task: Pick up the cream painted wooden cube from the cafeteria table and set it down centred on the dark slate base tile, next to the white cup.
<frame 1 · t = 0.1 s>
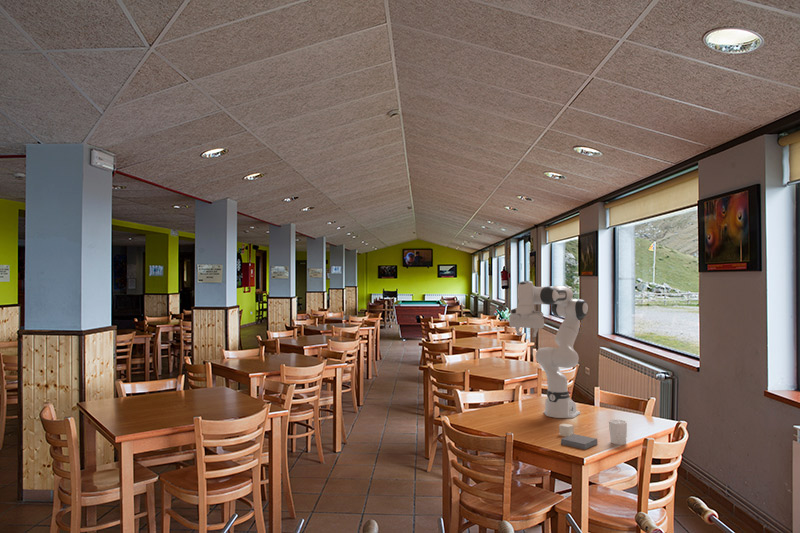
hand: (526, 336, 280), 48 cm above the table, fingers open, 8 cm apart
cube: (566, 435, 258), on the table
base: (579, 444, 242), on the table
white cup: (618, 443, 244), on the table
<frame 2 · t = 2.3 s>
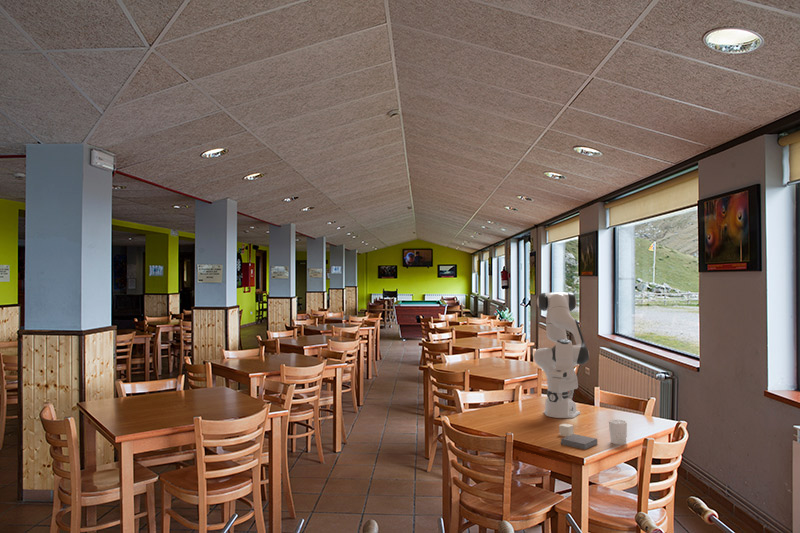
hand: (565, 399, 259), 18 cm above the table, fingers open, 8 cm apart
nothing on the table moved.
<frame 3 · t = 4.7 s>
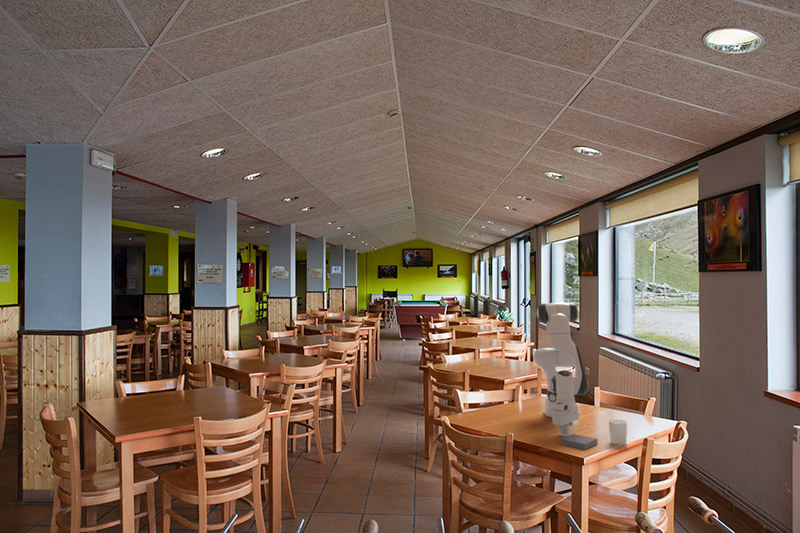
hand: (566, 431, 258), 2 cm above the table, fingers closed on cube, 5 cm apart
cube: (566, 435, 258), on the table, touching gripper
everything else where it was.
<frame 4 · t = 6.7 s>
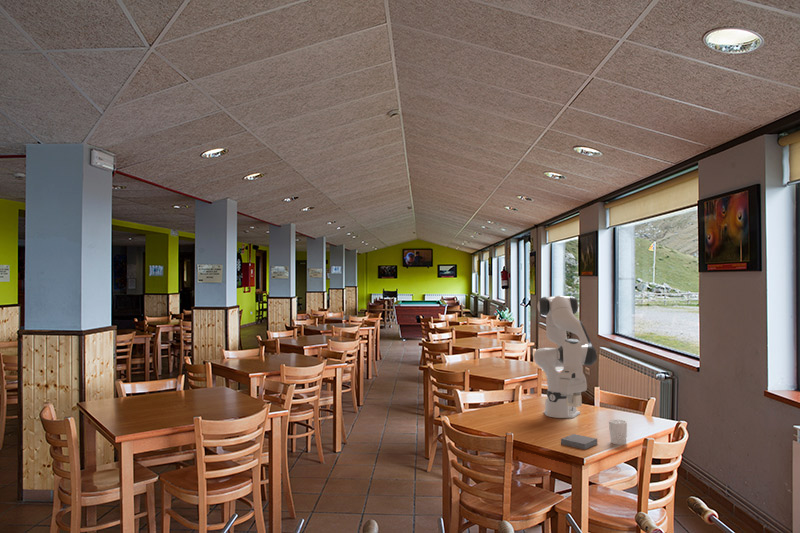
hand: (574, 402, 247), 19 cm above the table, fingers closed on cube, 5 cm apart
cube: (574, 405, 247), point 17 cm above the table, touching gripper
everything else where it was.
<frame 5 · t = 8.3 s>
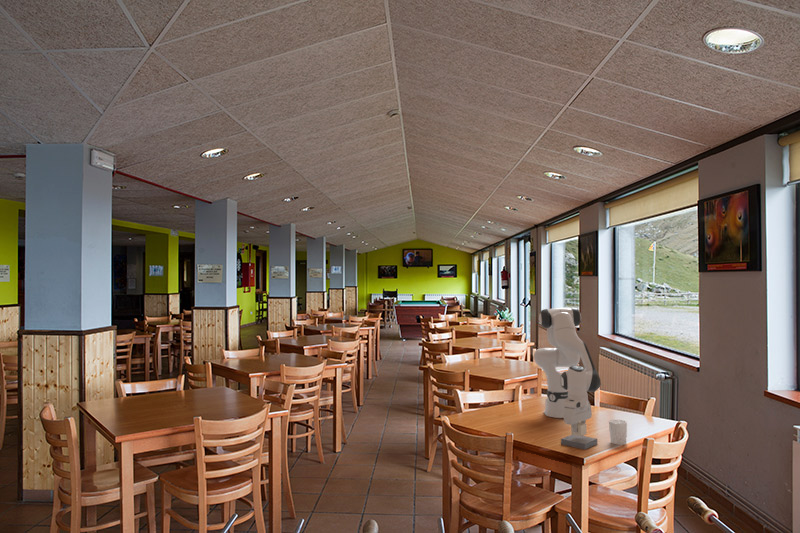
hand: (578, 430, 243), 6 cm above the table, fingers closed on cube, 5 cm apart
cube: (579, 434, 242), point 5 cm above the table, touching gripper
everything else where it was.
when the fingers open (6 cm above the table, at t = 9.2 s): cube drops 1 cm, resting on base.
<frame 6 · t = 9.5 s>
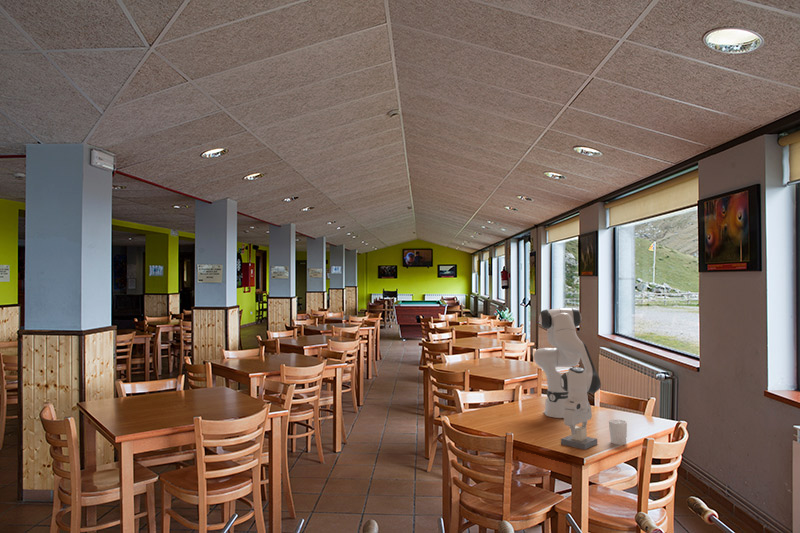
hand: (578, 432, 243), 6 cm above the table, fingers open, 8 cm apart
cube: (579, 438, 242), point 2 cm above the table, touching base
everything else where it was.
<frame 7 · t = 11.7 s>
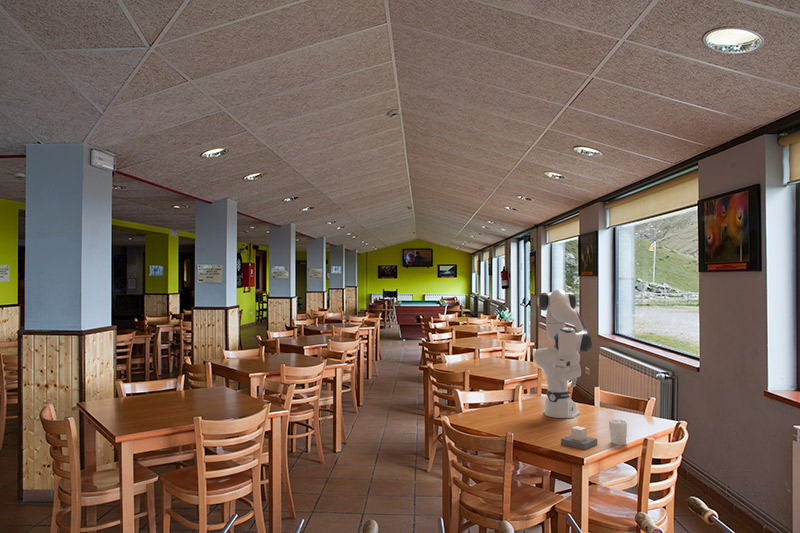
hand: (568, 388, 256), 24 cm above the table, fingers open, 8 cm apart
nothing on the table moved.
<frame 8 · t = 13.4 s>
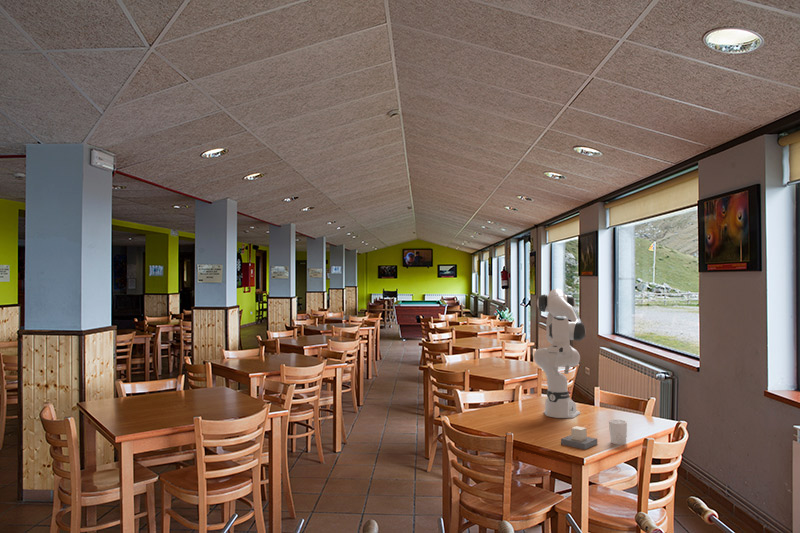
hand: (561, 374, 265), 29 cm above the table, fingers open, 8 cm apart
nothing on the table moved.
at the end: cube inside the target area on the base (0.1 cm from its centre), point 2.5 cm above the base's base; cube tilted 0°; the gripper is holding nothing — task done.
